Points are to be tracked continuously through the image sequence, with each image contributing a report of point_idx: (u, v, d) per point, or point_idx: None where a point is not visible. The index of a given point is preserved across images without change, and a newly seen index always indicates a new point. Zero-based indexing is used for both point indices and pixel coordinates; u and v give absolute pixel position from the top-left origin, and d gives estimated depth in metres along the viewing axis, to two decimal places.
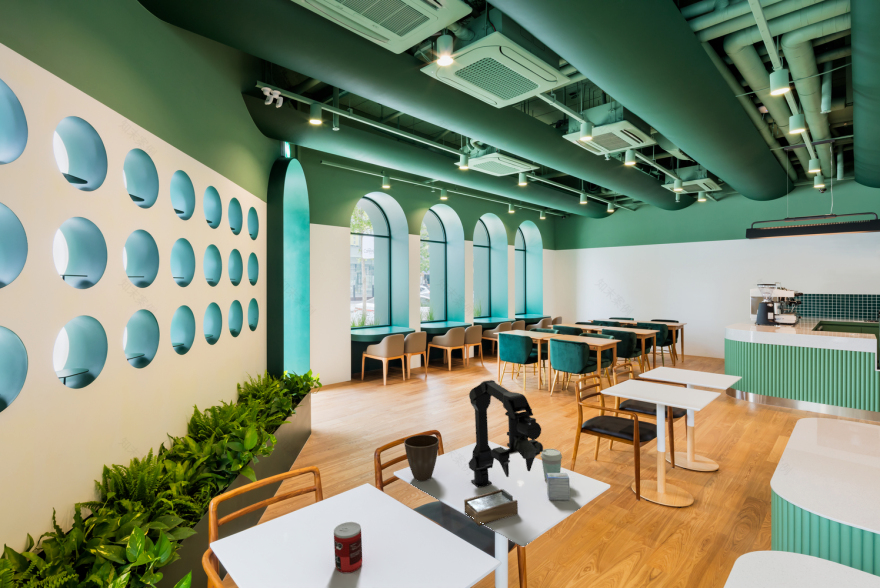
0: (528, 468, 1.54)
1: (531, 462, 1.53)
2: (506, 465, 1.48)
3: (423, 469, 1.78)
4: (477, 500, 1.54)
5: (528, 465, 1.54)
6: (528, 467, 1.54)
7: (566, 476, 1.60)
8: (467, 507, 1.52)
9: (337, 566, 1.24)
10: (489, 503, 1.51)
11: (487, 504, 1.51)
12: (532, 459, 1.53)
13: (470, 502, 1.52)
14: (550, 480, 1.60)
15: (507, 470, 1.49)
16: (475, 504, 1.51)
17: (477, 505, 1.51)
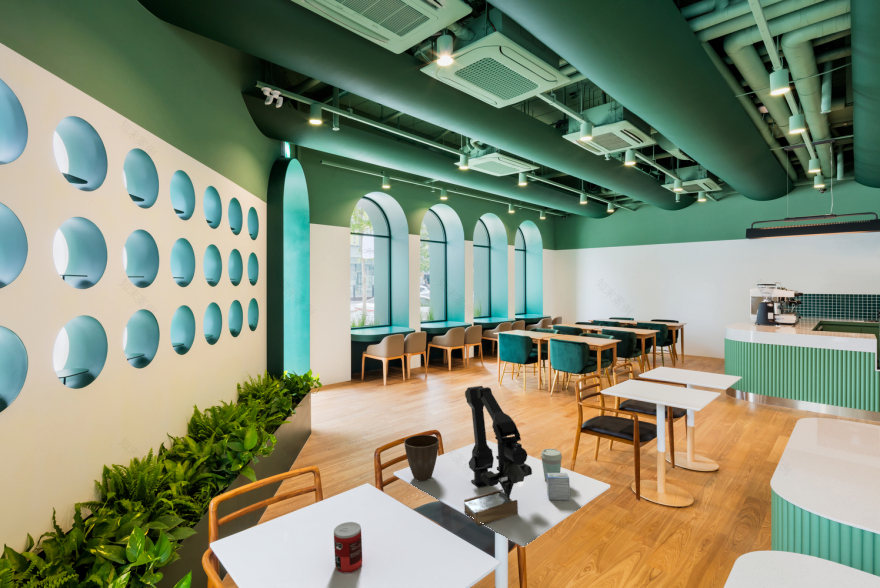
0: None
1: (510, 488, 1.55)
2: (506, 486, 1.54)
3: (423, 469, 1.78)
4: (474, 501, 1.53)
5: None
6: None
7: (566, 476, 1.60)
8: None
9: (337, 566, 1.24)
10: (486, 504, 1.50)
11: (484, 505, 1.50)
12: (511, 485, 1.55)
13: (467, 503, 1.52)
14: (550, 480, 1.60)
15: (507, 491, 1.54)
16: (472, 505, 1.50)
17: (474, 505, 1.50)
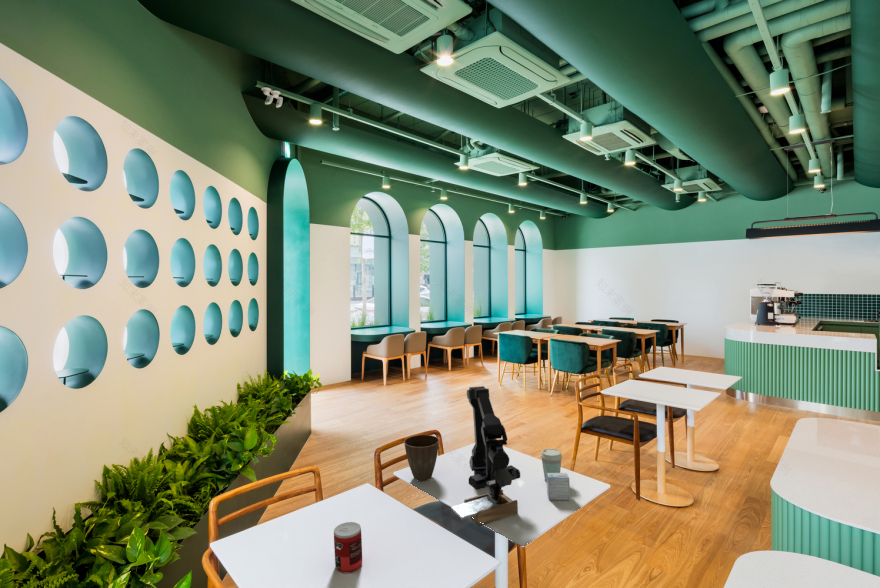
0: None
1: (498, 491, 1.53)
2: (494, 489, 1.52)
3: (423, 469, 1.78)
4: (462, 505, 1.51)
5: None
6: None
7: (566, 476, 1.60)
8: None
9: (337, 566, 1.24)
10: (474, 508, 1.48)
11: (472, 509, 1.48)
12: (499, 488, 1.53)
13: (454, 507, 1.49)
14: (550, 480, 1.60)
15: (495, 494, 1.52)
16: (459, 509, 1.48)
17: (462, 510, 1.47)
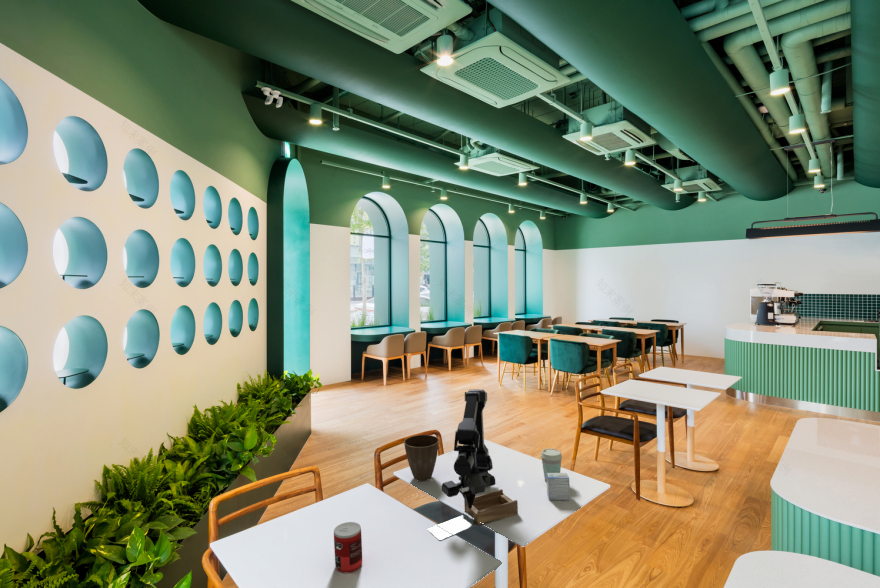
0: None
1: (472, 499, 1.48)
2: (467, 497, 1.47)
3: (423, 469, 1.78)
4: None
5: None
6: None
7: (566, 476, 1.60)
8: (467, 507, 1.52)
9: (337, 566, 1.24)
10: (451, 529, 1.43)
11: (449, 530, 1.43)
12: (473, 496, 1.48)
13: (431, 529, 1.44)
14: (550, 480, 1.60)
15: (469, 502, 1.48)
16: (436, 531, 1.42)
17: (439, 532, 1.42)
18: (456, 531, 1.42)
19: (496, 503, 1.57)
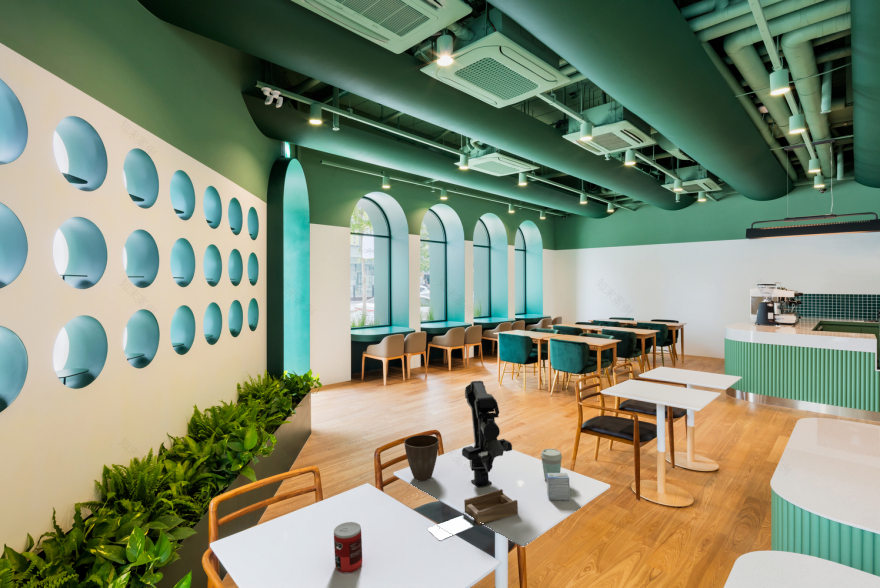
0: None
1: (490, 463, 1.59)
2: (486, 461, 1.57)
3: (423, 469, 1.78)
4: None
5: None
6: None
7: (566, 476, 1.60)
8: (467, 507, 1.52)
9: (337, 566, 1.24)
10: (451, 529, 1.43)
11: (449, 530, 1.43)
12: (492, 460, 1.58)
13: (431, 529, 1.44)
14: (550, 480, 1.60)
15: (487, 465, 1.58)
16: (436, 531, 1.42)
17: (439, 532, 1.42)
18: (456, 531, 1.42)
19: (496, 503, 1.57)
